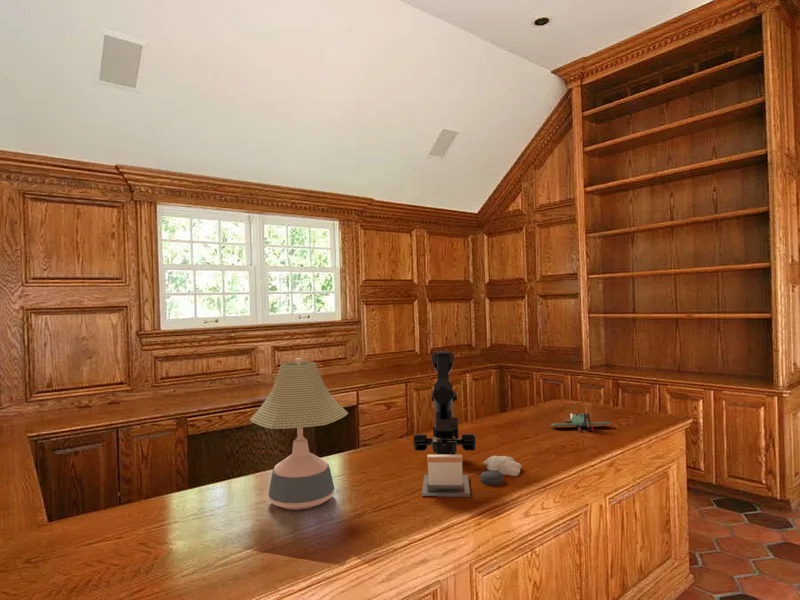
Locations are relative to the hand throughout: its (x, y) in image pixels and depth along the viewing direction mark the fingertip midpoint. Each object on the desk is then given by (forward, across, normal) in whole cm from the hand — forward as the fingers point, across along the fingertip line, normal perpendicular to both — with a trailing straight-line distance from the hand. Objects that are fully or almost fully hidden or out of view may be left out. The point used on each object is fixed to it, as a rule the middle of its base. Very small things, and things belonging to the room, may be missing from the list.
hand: (444, 468), depth 147 cm
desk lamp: (+10, -42, +1) cm, 43 cm away
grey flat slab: (+1, 0, +10) cm, 10 cm away
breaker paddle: (+3, 0, +5) cm, 6 cm away
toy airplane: (-50, +59, +62) cm, 99 cm away
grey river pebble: (-2, +14, +13) cm, 20 cm away
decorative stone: (-10, +20, +22) cm, 31 cm away
